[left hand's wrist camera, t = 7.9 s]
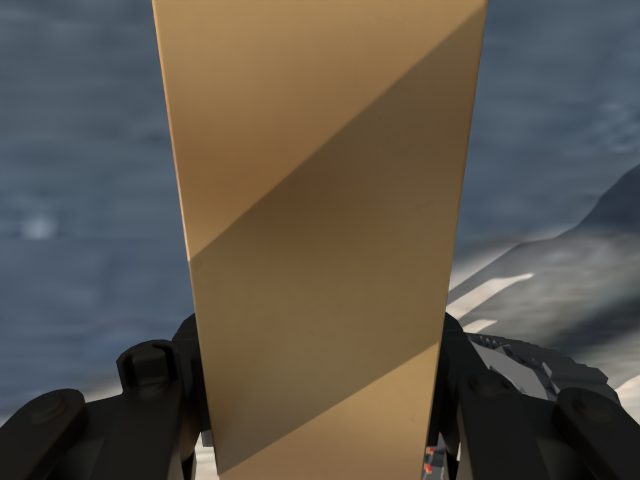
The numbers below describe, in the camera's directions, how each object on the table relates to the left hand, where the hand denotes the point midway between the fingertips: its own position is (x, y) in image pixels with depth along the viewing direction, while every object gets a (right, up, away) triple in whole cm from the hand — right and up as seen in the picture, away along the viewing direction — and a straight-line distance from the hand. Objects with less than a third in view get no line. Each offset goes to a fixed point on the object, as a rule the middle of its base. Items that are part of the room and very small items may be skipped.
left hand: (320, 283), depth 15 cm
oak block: (0, +10, -3) cm, 11 cm away
